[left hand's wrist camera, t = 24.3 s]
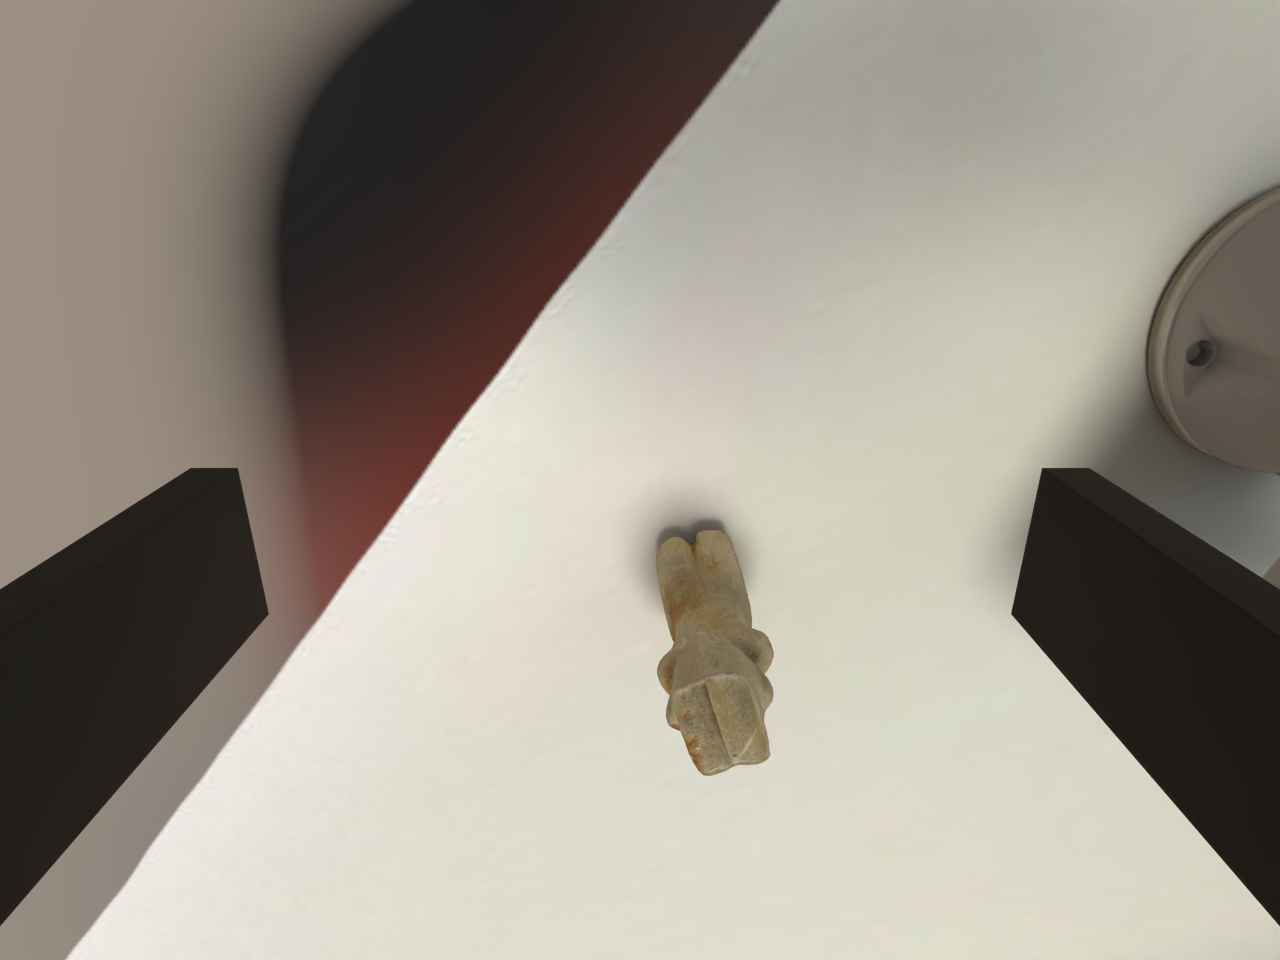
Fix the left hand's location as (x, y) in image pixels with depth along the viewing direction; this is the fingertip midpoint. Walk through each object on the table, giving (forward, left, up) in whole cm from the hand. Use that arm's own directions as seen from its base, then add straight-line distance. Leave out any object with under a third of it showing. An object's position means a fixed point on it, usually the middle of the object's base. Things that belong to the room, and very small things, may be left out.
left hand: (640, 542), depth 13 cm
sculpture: (+11, +13, -29) cm, 34 cm away
